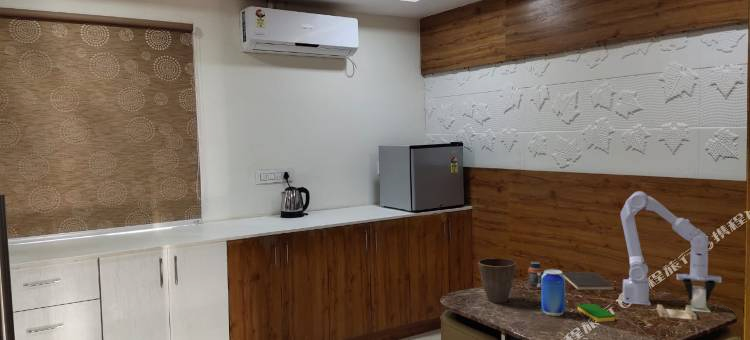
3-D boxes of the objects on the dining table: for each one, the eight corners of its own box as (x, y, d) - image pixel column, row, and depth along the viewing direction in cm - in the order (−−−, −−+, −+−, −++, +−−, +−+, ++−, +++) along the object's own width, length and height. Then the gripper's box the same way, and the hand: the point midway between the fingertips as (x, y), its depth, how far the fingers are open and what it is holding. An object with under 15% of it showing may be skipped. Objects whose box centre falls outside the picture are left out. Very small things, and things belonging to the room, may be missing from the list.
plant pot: (475, 304, 214) (475, 264, 213) (482, 293, 227) (482, 257, 227) (513, 307, 208) (513, 267, 207) (518, 297, 222) (517, 259, 221)
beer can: (564, 310, 204) (564, 269, 203) (565, 317, 196) (565, 275, 195) (541, 308, 206) (541, 268, 205) (541, 315, 198) (541, 273, 197)
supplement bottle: (543, 290, 231) (543, 264, 231) (529, 289, 232) (528, 264, 232) (541, 286, 237) (541, 261, 236) (527, 285, 238) (527, 260, 238)
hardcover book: (577, 291, 231) (577, 285, 230) (561, 277, 253) (561, 272, 253) (614, 291, 230) (614, 285, 229) (596, 277, 252) (596, 272, 252)
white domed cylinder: (691, 307, 200) (692, 288, 199) (688, 302, 206) (689, 284, 205) (707, 308, 198) (707, 290, 198) (703, 303, 204) (704, 285, 204)
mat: (689, 311, 199) (689, 310, 199) (685, 306, 206) (685, 304, 206) (711, 313, 197) (711, 312, 197) (706, 307, 204) (706, 306, 204)
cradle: (660, 317, 193) (660, 312, 193) (655, 309, 203) (655, 304, 203) (697, 321, 189) (698, 315, 189) (691, 312, 199) (691, 307, 199)
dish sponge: (594, 309, 205) (594, 303, 205) (615, 321, 192) (615, 315, 191) (577, 310, 204) (577, 304, 204) (596, 323, 191) (596, 316, 190)
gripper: (679, 265, 199) (678, 301, 200) (724, 267, 194) (723, 304, 195) (675, 261, 206) (675, 295, 207) (718, 263, 201) (718, 298, 202)
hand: (698, 299), depth 201 cm, fingers closed on white domed cylinder, 5 cm apart
